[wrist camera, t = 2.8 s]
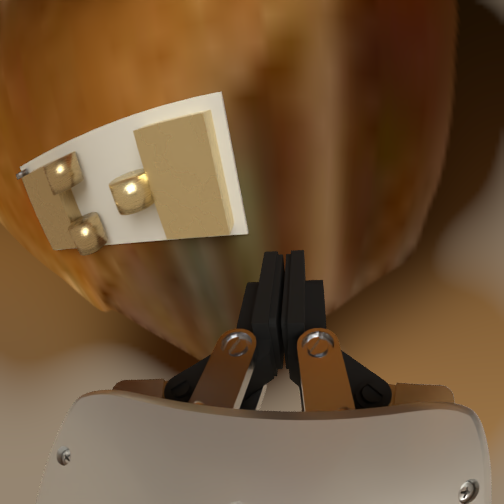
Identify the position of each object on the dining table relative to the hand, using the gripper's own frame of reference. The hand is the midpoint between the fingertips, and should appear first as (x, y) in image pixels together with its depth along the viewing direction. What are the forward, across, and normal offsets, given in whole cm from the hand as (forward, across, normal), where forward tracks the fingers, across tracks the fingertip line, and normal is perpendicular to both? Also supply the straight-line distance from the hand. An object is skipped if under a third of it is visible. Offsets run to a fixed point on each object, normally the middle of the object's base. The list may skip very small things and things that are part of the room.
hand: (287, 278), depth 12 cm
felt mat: (+16, +21, -1) cm, 27 cm away
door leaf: (+15, +11, -1) cm, 19 cm away
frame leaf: (+15, +29, -1) cm, 33 cm away
